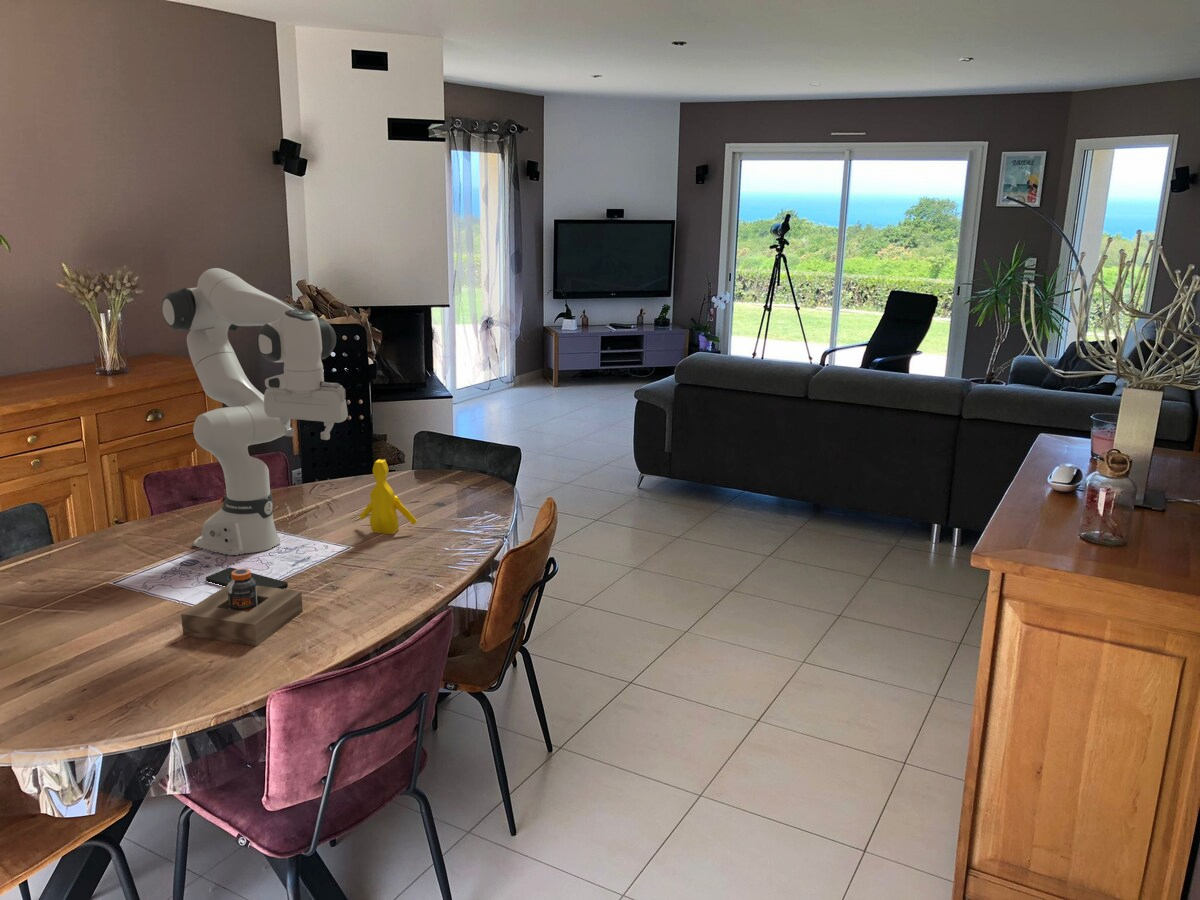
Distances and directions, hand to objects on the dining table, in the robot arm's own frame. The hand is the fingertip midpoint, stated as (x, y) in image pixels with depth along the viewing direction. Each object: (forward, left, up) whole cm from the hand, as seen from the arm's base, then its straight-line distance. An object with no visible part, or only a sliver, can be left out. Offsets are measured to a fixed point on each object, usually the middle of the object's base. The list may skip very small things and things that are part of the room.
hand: (307, 437), depth 219 cm
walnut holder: (-3, -25, -37) cm, 45 cm away
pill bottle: (-3, -25, -36) cm, 44 cm away
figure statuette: (0, +38, -37) cm, 53 cm away
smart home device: (-15, -6, -38) cm, 41 cm away
